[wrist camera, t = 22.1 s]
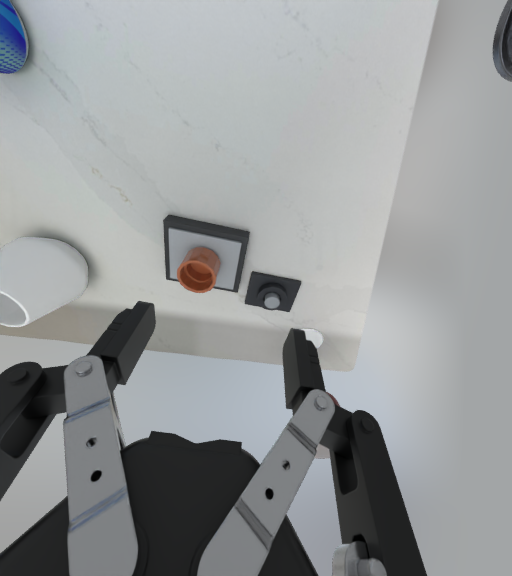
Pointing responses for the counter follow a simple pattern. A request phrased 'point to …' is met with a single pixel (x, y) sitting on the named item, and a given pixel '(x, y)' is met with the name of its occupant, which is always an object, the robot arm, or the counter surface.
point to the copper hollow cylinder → (199, 270)
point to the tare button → (272, 300)
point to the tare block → (272, 290)
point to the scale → (213, 237)
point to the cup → (38, 278)
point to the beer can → (12, 39)
